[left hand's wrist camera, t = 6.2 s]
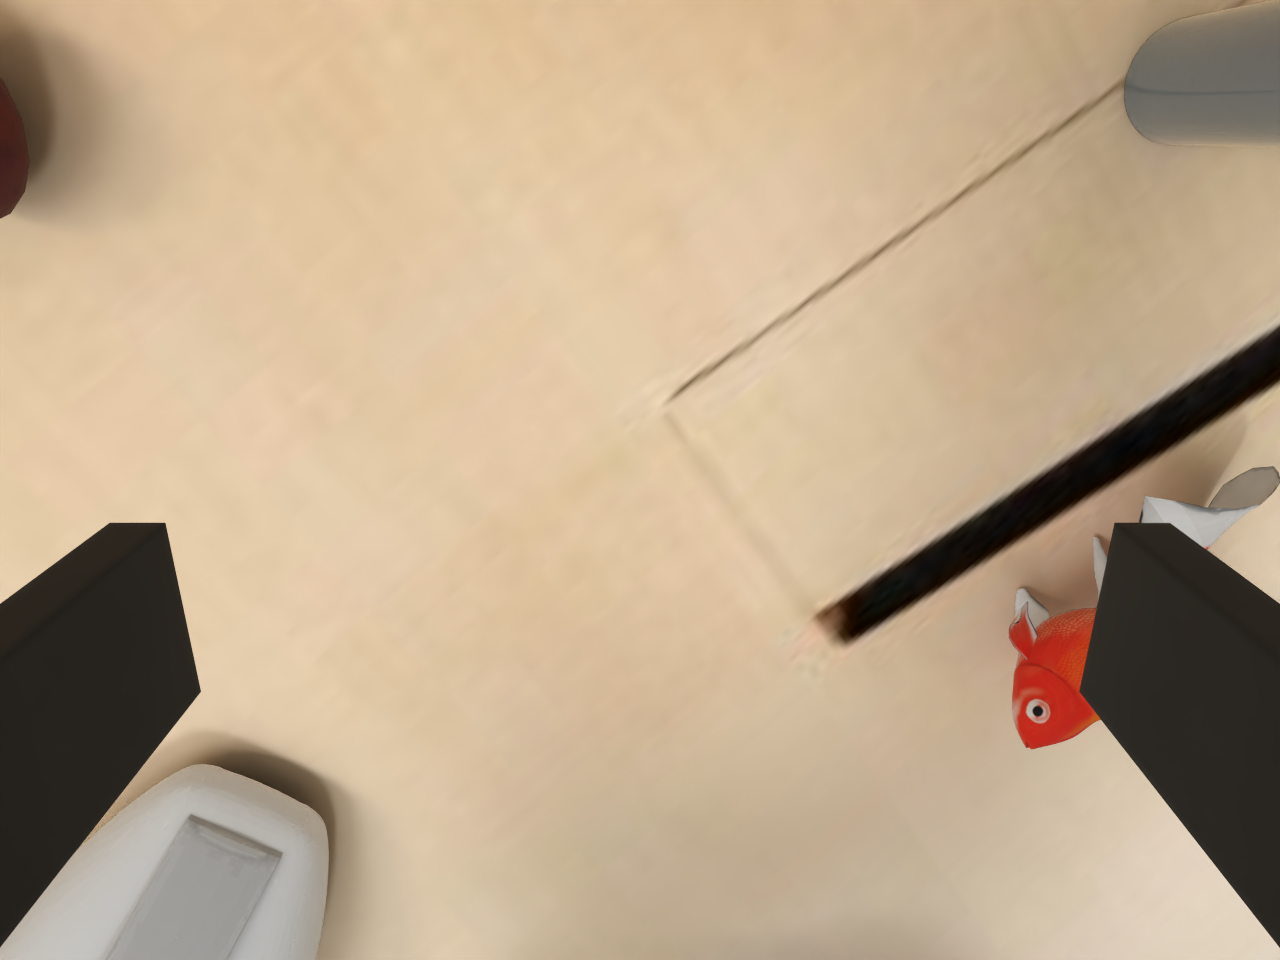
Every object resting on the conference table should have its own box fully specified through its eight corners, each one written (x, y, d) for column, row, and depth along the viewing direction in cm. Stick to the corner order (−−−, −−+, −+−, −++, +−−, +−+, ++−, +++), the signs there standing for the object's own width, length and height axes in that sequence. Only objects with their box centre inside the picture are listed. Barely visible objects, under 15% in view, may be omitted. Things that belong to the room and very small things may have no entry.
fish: (909, 580, 39) (1127, 716, 31) (1141, 369, 42) (1388, 445, 34) (949, 714, 45) (1138, 853, 38) (1147, 522, 49) (1356, 614, 41)
